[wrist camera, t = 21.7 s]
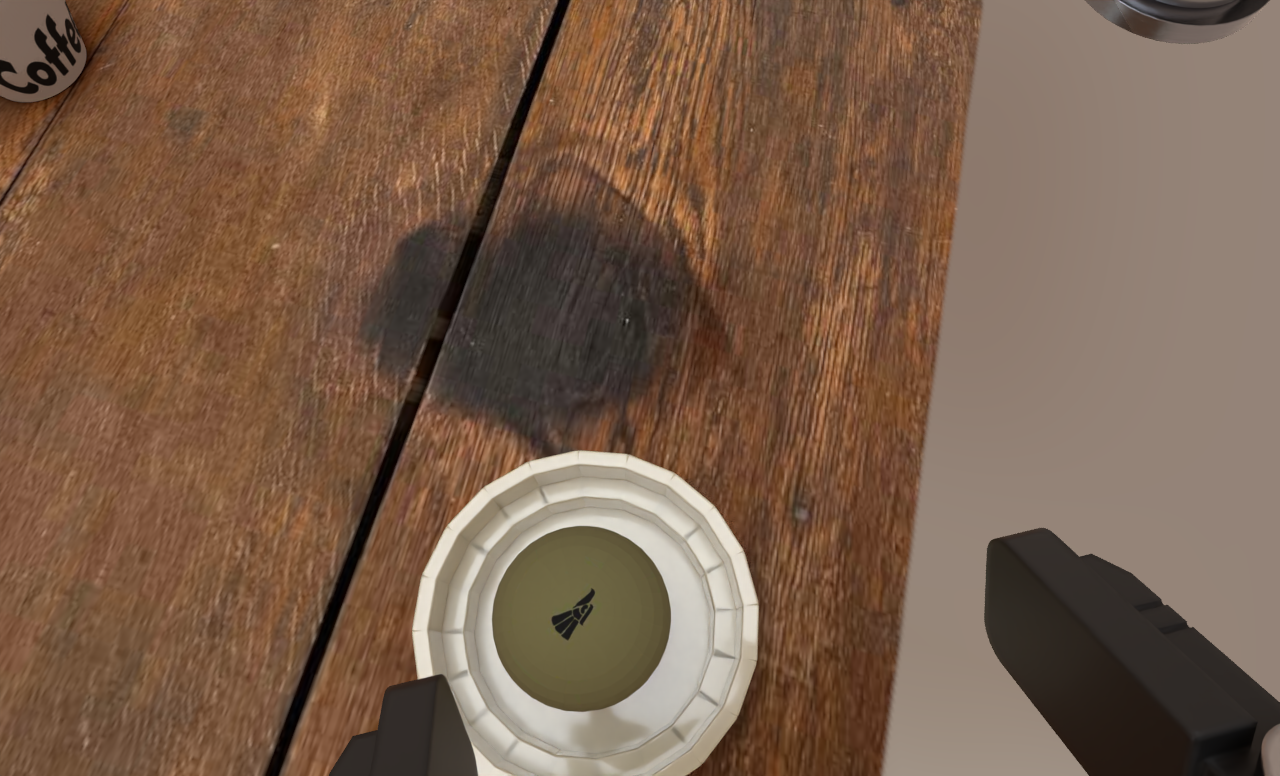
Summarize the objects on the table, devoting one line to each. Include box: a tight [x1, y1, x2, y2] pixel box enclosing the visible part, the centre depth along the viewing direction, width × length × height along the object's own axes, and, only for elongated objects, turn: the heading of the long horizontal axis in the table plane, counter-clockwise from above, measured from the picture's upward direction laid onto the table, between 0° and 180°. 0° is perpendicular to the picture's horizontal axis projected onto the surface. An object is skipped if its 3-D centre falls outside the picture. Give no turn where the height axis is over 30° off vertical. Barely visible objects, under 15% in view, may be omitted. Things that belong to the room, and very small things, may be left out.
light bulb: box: [492, 526, 671, 712], centre depth 26 cm, size 6×6×10 cm
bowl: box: [412, 450, 759, 776], centre depth 30 cm, size 12×12×4 cm
